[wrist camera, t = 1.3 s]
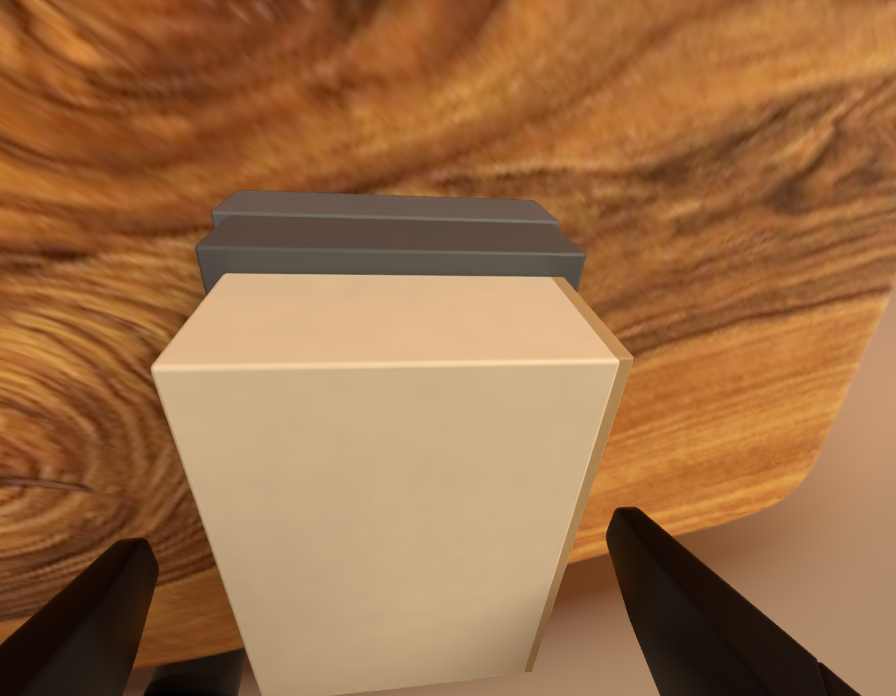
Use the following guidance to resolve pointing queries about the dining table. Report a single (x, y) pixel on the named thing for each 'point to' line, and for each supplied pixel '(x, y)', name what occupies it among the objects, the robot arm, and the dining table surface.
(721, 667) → the robot arm
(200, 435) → the beige rectangular block
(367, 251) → the grey book stack
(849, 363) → the dining table surface
